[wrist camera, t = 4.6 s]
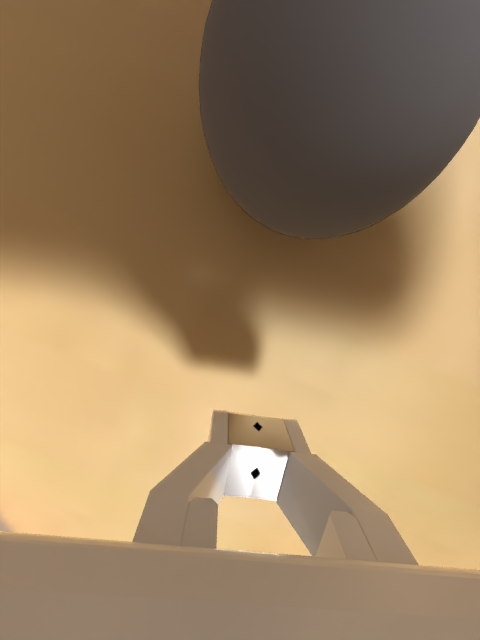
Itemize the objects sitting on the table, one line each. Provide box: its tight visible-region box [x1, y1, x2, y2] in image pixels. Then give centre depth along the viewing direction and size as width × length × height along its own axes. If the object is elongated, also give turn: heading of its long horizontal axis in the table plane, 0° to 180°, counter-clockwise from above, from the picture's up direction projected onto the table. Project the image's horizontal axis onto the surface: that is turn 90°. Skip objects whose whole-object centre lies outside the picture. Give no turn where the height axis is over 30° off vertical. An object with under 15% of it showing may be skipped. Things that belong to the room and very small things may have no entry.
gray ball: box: [199, 0, 480, 239], centre depth 6 cm, size 6×6×6 cm
